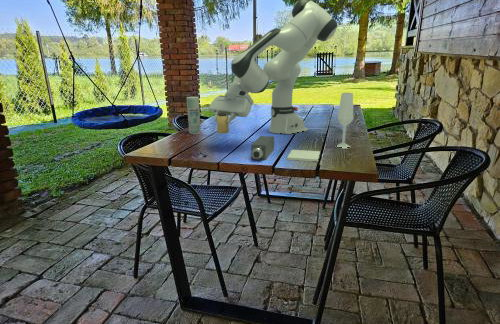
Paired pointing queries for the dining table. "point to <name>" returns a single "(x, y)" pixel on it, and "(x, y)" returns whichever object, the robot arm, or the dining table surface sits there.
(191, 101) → the spray can
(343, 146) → the champagne flute
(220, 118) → the yellow cylinder
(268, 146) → the motor housing
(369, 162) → the dining table surface
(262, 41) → the robot arm
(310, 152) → the far side pad
